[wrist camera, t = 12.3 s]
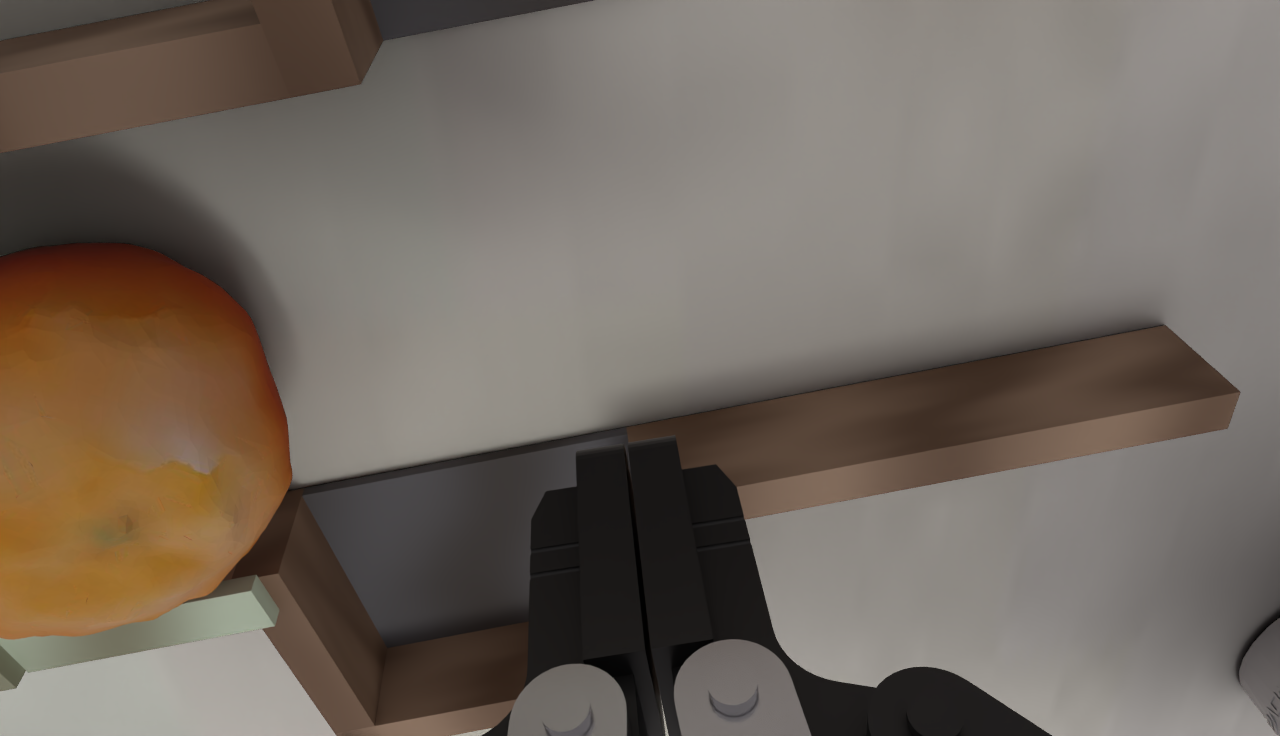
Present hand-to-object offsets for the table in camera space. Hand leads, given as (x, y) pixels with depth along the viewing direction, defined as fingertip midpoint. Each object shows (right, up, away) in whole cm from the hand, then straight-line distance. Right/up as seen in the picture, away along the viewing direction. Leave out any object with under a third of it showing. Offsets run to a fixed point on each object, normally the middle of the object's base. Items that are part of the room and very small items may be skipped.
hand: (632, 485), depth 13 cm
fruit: (-12, +2, +8) cm, 14 cm away
